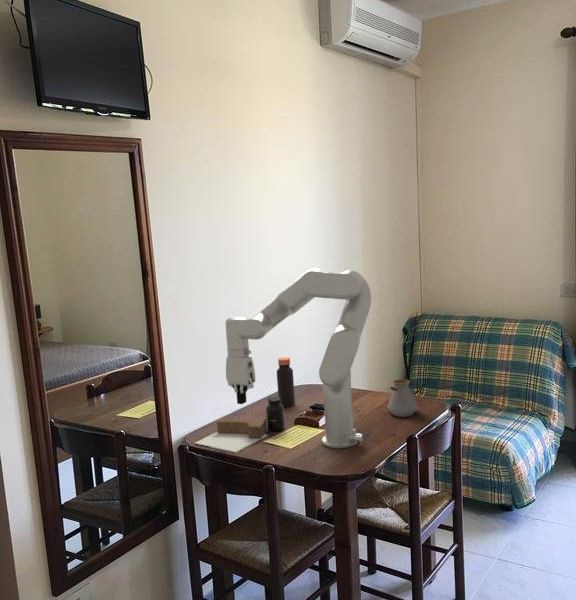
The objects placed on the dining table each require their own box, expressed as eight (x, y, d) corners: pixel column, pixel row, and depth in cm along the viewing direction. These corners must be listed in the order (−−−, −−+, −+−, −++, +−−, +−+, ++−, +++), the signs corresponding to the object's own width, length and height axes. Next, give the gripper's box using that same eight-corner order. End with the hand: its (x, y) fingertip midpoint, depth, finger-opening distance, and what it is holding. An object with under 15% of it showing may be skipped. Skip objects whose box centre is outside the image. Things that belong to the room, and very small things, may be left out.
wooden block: (259, 427, 217) (212, 426, 222) (260, 439, 218) (213, 438, 222) (266, 418, 226) (220, 417, 230) (267, 430, 227) (221, 429, 231)
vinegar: (292, 407, 253) (289, 360, 250) (276, 407, 255) (273, 360, 252) (296, 402, 259) (294, 356, 256) (281, 402, 261) (278, 356, 259)
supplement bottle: (269, 433, 224) (267, 402, 223) (265, 427, 231) (262, 397, 229) (287, 430, 226) (285, 399, 225) (282, 425, 233) (280, 394, 231)
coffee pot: (392, 408, 245) (390, 371, 243) (420, 410, 240) (419, 373, 238) (376, 425, 226) (375, 386, 224) (407, 428, 221) (406, 388, 219)
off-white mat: (267, 435, 222) (267, 434, 222) (235, 453, 208) (235, 451, 208) (227, 428, 233) (227, 426, 233) (194, 444, 219) (194, 442, 218)
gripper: (261, 351, 212) (265, 402, 215) (228, 348, 221) (232, 397, 223) (248, 356, 206) (252, 408, 209) (215, 353, 215) (218, 403, 217)
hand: (241, 402), depth 216 cm, fingers closed
